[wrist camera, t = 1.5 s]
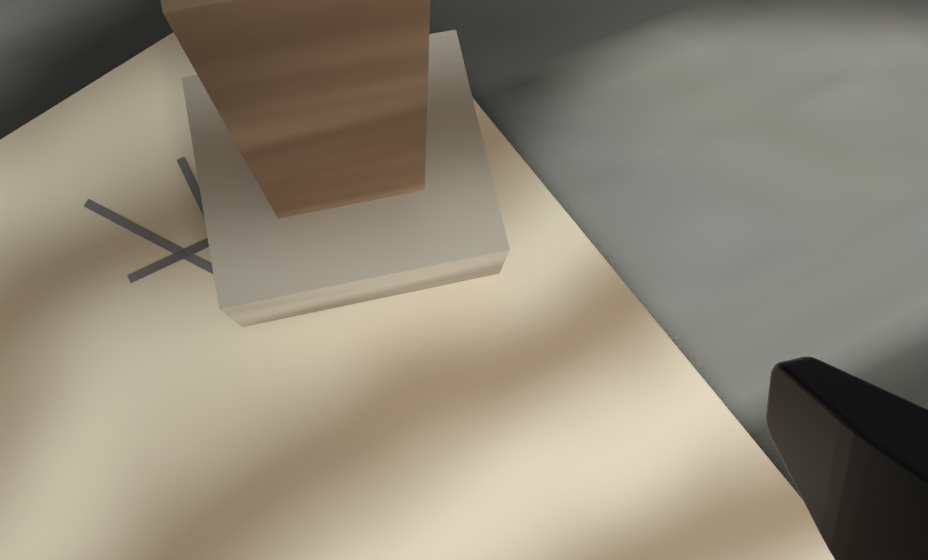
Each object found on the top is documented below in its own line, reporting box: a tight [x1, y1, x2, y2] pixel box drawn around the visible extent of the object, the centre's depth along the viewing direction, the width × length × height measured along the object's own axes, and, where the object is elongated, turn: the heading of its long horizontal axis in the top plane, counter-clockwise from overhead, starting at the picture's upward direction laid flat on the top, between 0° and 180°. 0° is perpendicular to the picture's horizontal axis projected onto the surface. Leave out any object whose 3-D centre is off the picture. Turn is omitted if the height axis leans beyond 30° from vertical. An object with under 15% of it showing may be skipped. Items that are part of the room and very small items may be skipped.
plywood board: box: [0, 32, 835, 560], centre depth 21 cm, size 26×17×2 cm, turn 38°
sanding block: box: [161, 0, 510, 327], centre depth 17 cm, size 6×7×12 cm
